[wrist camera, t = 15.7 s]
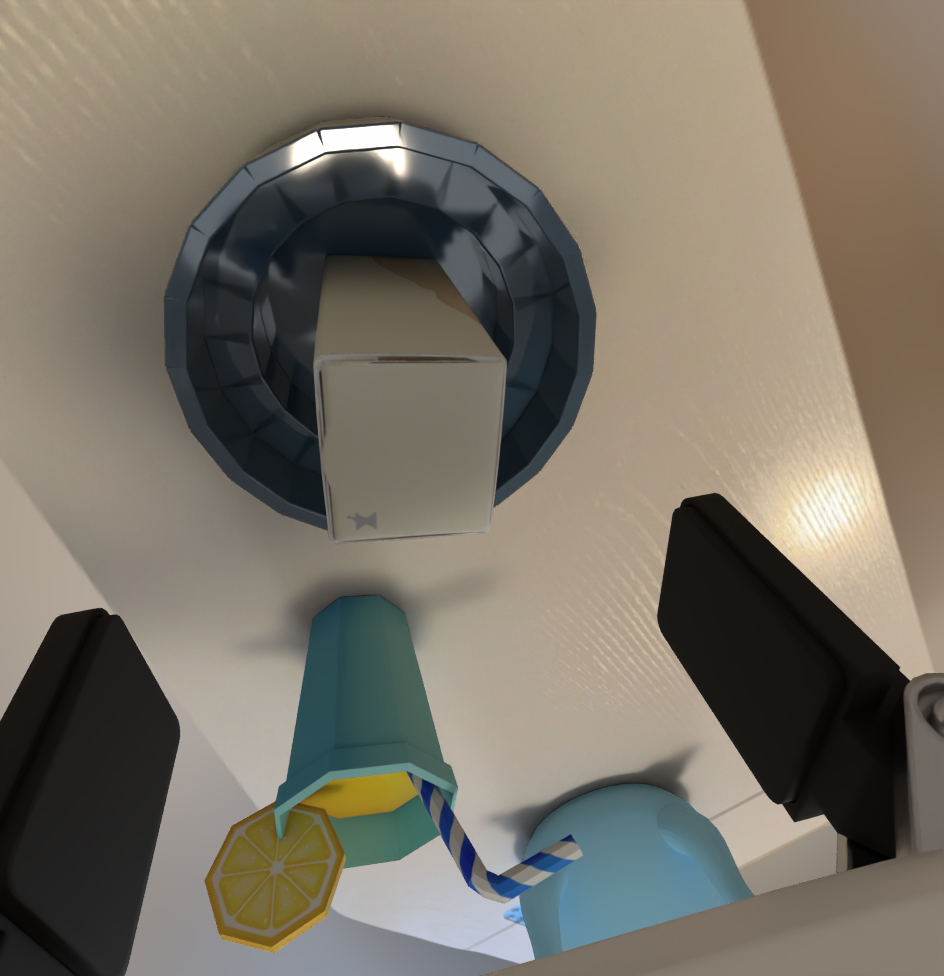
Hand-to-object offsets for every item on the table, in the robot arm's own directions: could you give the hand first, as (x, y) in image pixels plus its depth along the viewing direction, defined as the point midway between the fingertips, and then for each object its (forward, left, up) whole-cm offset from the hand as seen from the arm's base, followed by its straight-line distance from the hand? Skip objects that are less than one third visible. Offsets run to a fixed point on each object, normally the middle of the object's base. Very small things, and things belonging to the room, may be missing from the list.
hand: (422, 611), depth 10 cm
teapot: (+13, -46, -16) cm, 50 cm away
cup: (-3, -17, -16) cm, 24 cm away
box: (0, 0, -16) cm, 16 cm away
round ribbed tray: (0, 0, -16) cm, 16 cm away
